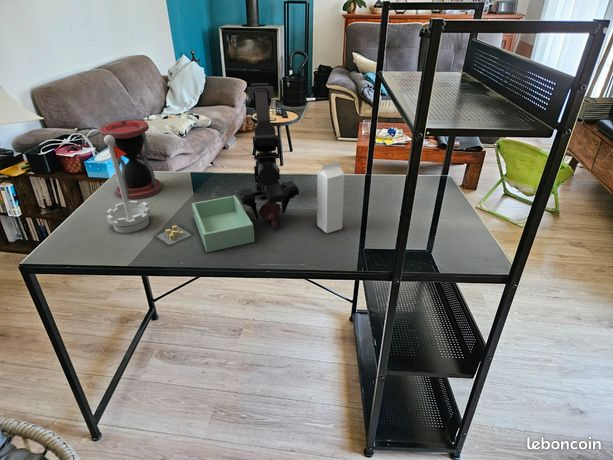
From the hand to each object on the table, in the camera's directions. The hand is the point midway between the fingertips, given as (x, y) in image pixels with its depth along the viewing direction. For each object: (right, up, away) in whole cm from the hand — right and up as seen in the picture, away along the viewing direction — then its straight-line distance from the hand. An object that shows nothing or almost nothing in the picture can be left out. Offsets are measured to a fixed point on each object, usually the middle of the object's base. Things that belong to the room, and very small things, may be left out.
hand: (270, 215), depth 135 cm
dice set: (-30, -7, -7) cm, 31 cm away
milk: (+19, -4, -3) cm, 20 cm away
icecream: (0, -2, +1) cm, 2 cm away
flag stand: (-46, -3, 0) cm, 46 cm away
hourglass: (-52, +11, +22) cm, 58 cm away
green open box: (-15, -5, -4) cm, 16 cm away
